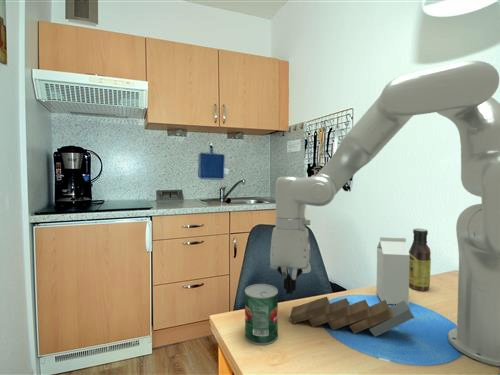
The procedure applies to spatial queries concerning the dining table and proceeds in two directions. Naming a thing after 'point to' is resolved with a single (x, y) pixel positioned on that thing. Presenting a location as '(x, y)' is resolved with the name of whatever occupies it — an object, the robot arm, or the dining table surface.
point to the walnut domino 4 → (373, 317)
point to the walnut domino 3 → (352, 315)
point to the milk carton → (393, 270)
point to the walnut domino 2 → (332, 313)
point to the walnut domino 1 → (310, 310)
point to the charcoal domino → (393, 319)
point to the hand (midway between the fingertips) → (290, 292)
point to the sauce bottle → (419, 261)
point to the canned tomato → (261, 314)
